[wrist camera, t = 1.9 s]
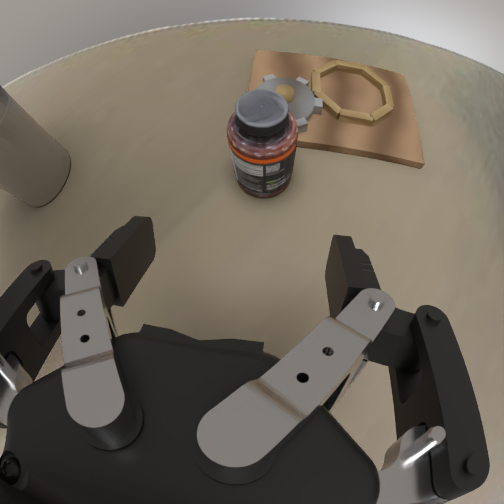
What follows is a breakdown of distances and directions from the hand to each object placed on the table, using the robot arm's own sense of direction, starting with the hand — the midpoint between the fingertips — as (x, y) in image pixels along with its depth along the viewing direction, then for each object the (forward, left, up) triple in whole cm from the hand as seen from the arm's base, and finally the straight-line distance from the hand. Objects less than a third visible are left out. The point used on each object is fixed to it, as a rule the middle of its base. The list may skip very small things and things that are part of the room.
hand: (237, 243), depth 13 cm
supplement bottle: (0, +12, -16) cm, 20 cm away
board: (+8, +24, -16) cm, 30 cm away
